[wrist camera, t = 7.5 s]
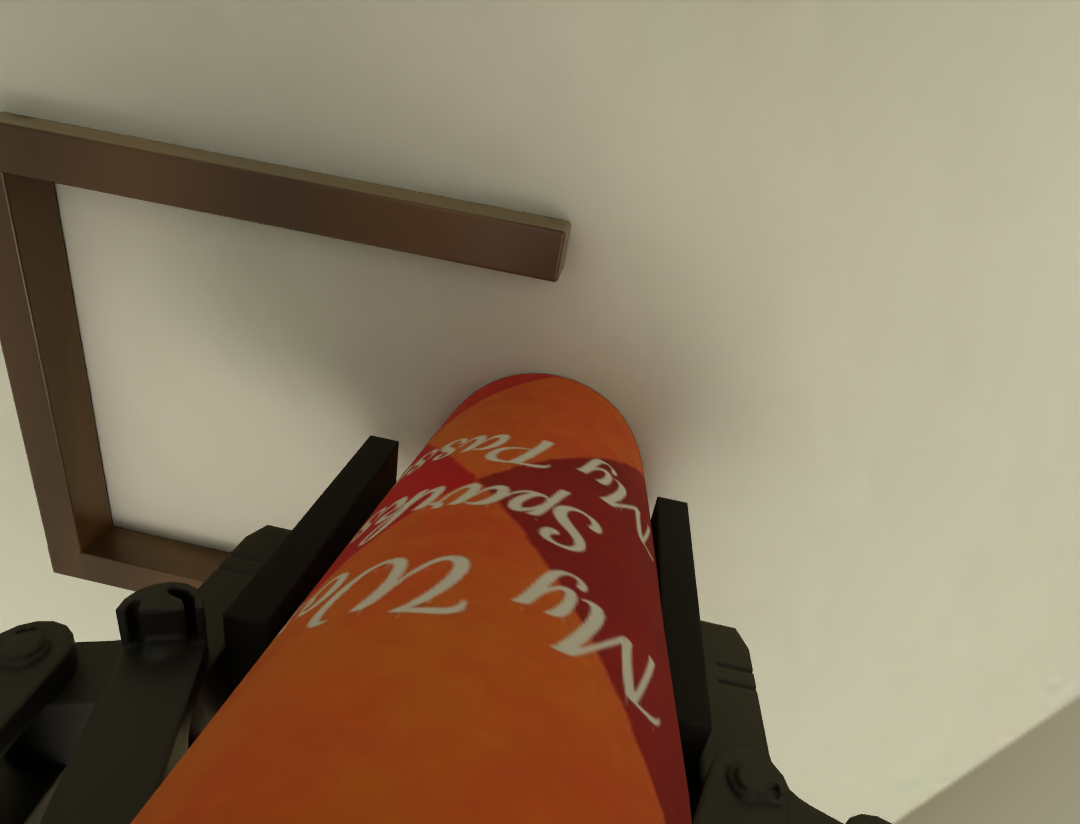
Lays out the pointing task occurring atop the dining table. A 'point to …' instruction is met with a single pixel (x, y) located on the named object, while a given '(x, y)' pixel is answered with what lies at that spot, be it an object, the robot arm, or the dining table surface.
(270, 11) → the dining table surface
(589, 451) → the coffee cup
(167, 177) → the brown frame
